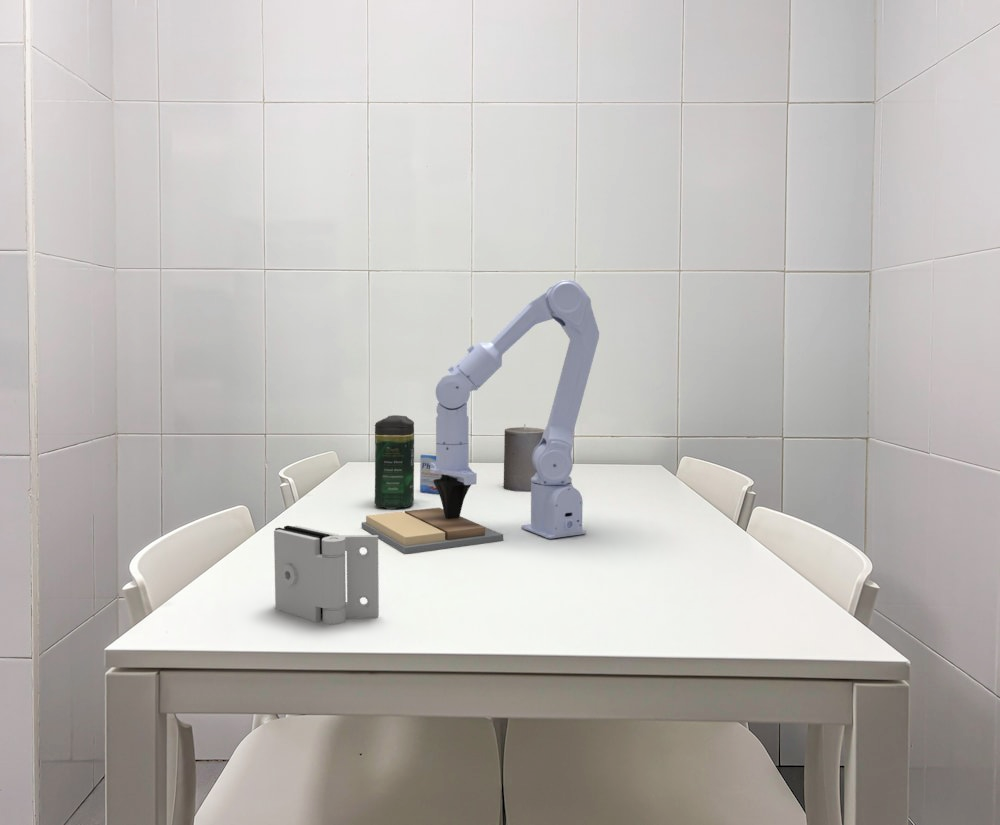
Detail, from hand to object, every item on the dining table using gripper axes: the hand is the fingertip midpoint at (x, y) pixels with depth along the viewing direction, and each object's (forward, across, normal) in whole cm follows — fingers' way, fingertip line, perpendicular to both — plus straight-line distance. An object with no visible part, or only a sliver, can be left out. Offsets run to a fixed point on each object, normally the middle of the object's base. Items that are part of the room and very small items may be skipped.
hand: (452, 518), depth 137 cm
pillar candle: (+3, -30, +34) cm, 45 cm away
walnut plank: (+1, 0, -2) cm, 2 cm away
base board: (+2, 0, -4) cm, 5 cm away
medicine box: (+2, -34, +14) cm, 37 cm away
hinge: (+2, +30, -32) cm, 44 cm away
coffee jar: (+2, -26, 0) cm, 26 cm away
